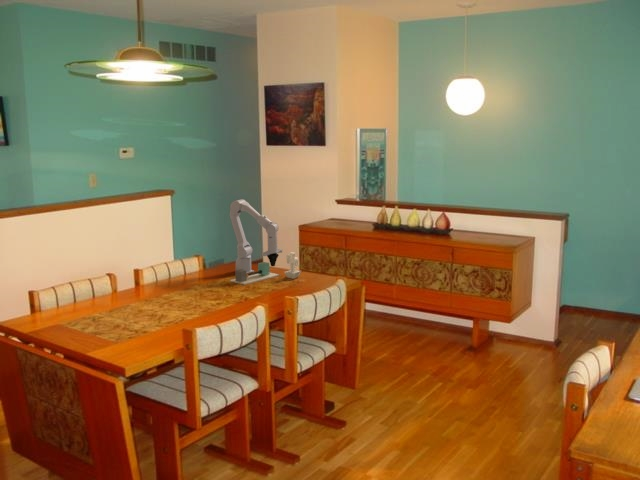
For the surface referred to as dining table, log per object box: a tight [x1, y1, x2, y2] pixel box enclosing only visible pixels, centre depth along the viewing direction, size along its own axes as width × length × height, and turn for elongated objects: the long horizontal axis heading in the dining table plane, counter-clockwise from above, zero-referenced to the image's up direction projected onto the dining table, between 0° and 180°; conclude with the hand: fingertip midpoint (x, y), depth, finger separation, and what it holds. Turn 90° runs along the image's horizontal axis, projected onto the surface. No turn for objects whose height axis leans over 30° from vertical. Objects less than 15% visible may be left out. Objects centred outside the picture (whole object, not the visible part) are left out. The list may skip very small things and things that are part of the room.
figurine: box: [284, 251, 302, 280], centre depth 372 cm, size 7×9×15 cm
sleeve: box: [257, 261, 271, 275], centre depth 376 cm, size 4×5×6 cm
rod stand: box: [229, 269, 280, 286], centre depth 371 cm, size 12×28×7 cm, turn 139°
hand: (272, 265), depth 382 cm, fingers closed
